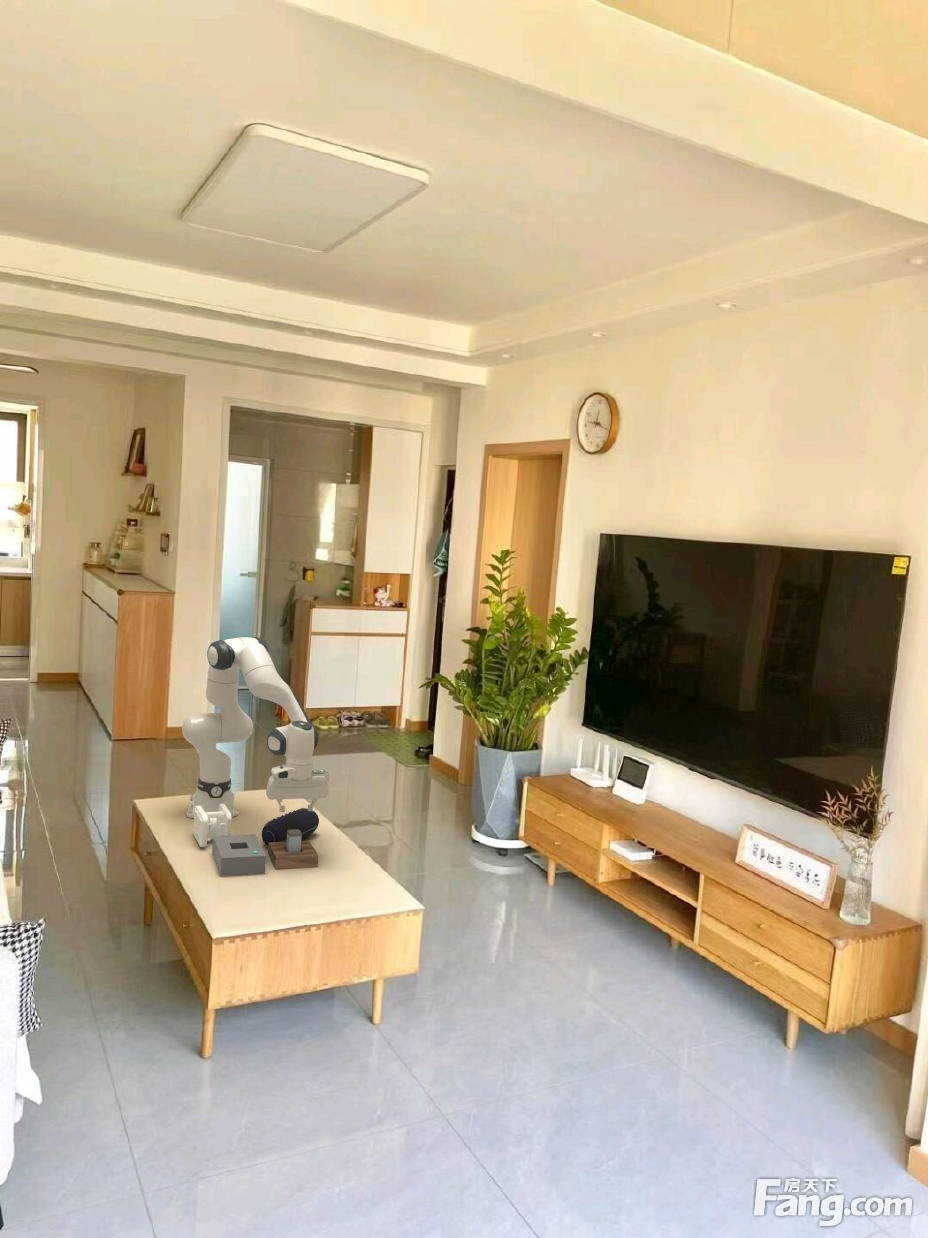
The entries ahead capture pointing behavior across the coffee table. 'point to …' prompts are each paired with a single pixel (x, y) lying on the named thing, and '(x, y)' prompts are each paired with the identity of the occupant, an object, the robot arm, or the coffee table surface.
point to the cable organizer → (211, 824)
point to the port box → (238, 855)
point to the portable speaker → (290, 825)
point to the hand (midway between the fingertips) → (296, 811)
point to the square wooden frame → (292, 856)
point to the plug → (293, 840)
